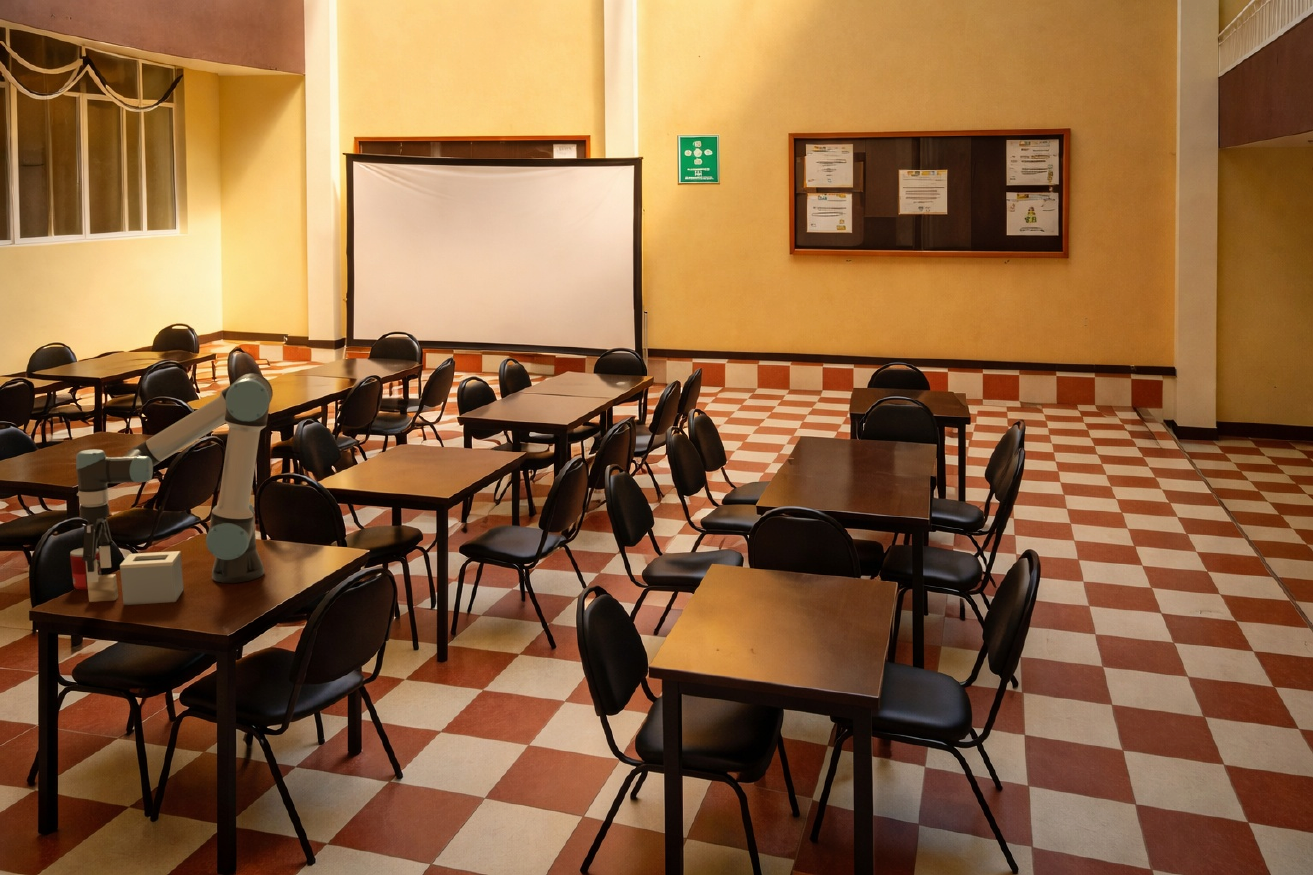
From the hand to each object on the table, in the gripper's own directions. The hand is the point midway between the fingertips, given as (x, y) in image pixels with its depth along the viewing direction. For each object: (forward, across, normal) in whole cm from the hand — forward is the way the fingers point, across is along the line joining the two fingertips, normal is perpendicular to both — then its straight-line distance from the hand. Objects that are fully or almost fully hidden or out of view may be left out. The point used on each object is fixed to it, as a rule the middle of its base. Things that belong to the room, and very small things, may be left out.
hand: (99, 574), depth 317 cm
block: (+8, 0, +1) cm, 8 cm away
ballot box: (+7, +1, +15) cm, 16 cm away
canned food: (+8, -14, -7) cm, 18 cm away
